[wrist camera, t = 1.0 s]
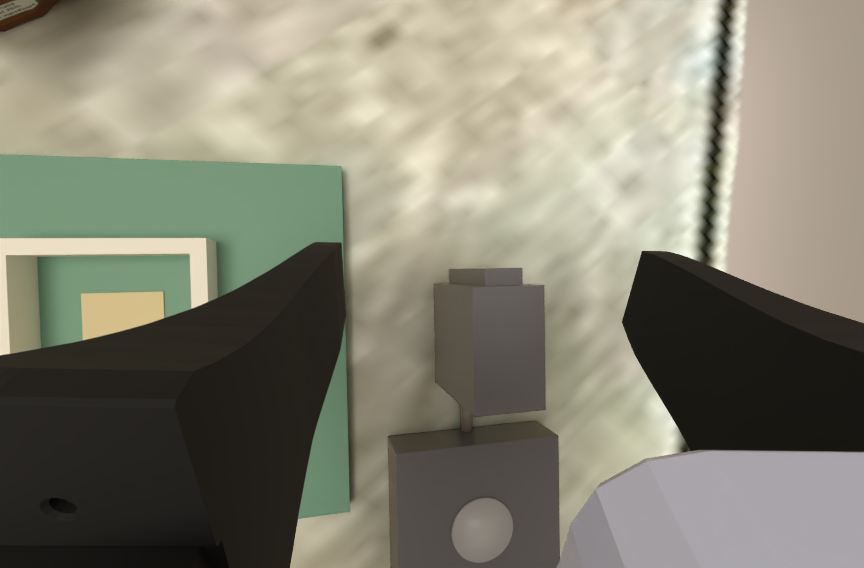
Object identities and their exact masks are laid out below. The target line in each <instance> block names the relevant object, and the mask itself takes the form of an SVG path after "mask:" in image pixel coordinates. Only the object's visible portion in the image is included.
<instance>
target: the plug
mask: <svg viewBox="0 0 864 568" xmlns="http://www.w3.org/2000/svg"><path fill="white" fill-rule="evenodd" d="M449 277H450V283H436V284H434V332H435V382H436V383H437V384H438V385H439V386H440V387H442V388H443V389H444V390H445V391H446V392H447V393H448V394H449V395H451V396H452V397H453V398H454V399H455V400H456V401H457V402H458V403H460V404H461V405H462V406H463V407H464V408H465V409H466V410H467V411H469V412H470V413H471V414H472V415H473V416H474V417H479V416H489V415H499V414H509V413H519V412H529V411H539V410H546V405H545V320H544V285H532V284H522V268H495V269H449Z"/></svg>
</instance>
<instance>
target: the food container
mask: <svg viewBox="0 0 864 568" xmlns="http://www.w3.org/2000/svg"><path fill="white" fill-rule="evenodd" d="M61 1H62V0H0V32H2V31H7V30H9V29H12V28H14V27H17V26H20V25H22V24H25V23H27V22H30V21H33V20H35V19H38V18H40V17H43V16H44V15H45V14H46V13H48V12H49V11H50V10H51V9H52V8H53V7H55V6H56V5H57V4H58V3H59V2H61Z"/></svg>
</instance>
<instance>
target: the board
mask: <svg viewBox="0 0 864 568" xmlns="http://www.w3.org/2000/svg"><path fill="white" fill-rule="evenodd" d="M314 242H340V243H342V258H343V275H344V249H343V208H342V167H341V166H322V165H293V164H263V163H234V162H205V161H176V160H147V159H118V158H89V157H60V156H31V155H2V154H0V355H5V354H12V353H18V352H23V351H29V350H34V349H40V348H45V347H51V346H56V345H62V344H67V343H73V342H77V341H82V340H87V339H91V338H95V337H100V336H104V335H108V334H112V333H116V332H120V331H124V330H127V329H131V328H134V327H138V326H142V325H145V324H148V323H152V322H154V321H157V320H160V319H163V318H166V317H169V316H172V315H175V314H178V313H181V312H184V311H187V310H189V309H192V308H195V307H197V306H200V305H202V304H204V303H207V302H209V301H211V300H214V299H216V298H218V297H221V296H223V295H225V294H227V293H229V292H231V291H233V290H235V289H237V288H239V287H241V286H243V285H244V284H246V283H248V282H250V281H251V280H253V279H255V278H257V277H258V276H260V275H262V274H264V273H266V272H267V271H269V270H271V269H272V268H274V267H275V266H277V265H279V264H280V263H282V262H283V261H285V260H286V259H288V258H289V257H291V256H293V255H294V254H296V253H297V252H299V251H300V250H302V249H303V248H305V247H307V246H308V245H310V244H312V243H314ZM344 292H345V290H344ZM343 512H350V495H349V454H348V413H347V372H346V331H345V325H344V331H343V338H342V343H341V349H340V353H339V356H338V359H337V362H336V366H335V369H334V372H333V375H332V378H331V382H330V385H329V388H328V391H327V394H326V397H325V400H324V404H323V407H322V410H321V413H320V416H319V419H318V423H317V426H316V430H315V434H314V437H313V441H312V446H311V451H310V457H309V462H308V467H307V472H306V477H305V482H304V488H303V493H302V499H301V504H300V510H299V515H298V519H300V518H308V517H315V516H322V515H329V514H336V513H343Z"/></svg>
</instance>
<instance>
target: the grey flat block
mask: <svg viewBox="0 0 864 568" xmlns="http://www.w3.org/2000/svg"><path fill="white" fill-rule="evenodd" d="M460 420H461V429H452V430H443V431H433V432H424V433H414V434H404V435H395V436H388V469H389V515H390V561H391V568H556V567H557V565H558V563H559V561H560V543H559V455H558V435H556V434H555V433H553V432H552V431H550V430H549V429H547V428H546V427H544V426H543V425H541V424H540V423H538V422H537V421H529V422H519V423H510V424H500V425H491V426H481V427H472V414H471V413H470V412H469V411H467V410H466V409H465V408H464V407H463V406H462V405H461V404H460Z"/></svg>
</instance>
